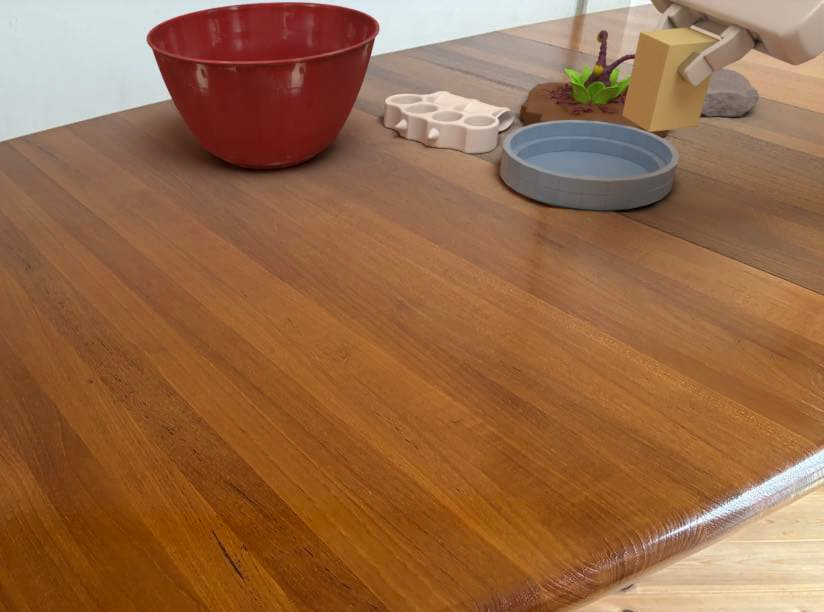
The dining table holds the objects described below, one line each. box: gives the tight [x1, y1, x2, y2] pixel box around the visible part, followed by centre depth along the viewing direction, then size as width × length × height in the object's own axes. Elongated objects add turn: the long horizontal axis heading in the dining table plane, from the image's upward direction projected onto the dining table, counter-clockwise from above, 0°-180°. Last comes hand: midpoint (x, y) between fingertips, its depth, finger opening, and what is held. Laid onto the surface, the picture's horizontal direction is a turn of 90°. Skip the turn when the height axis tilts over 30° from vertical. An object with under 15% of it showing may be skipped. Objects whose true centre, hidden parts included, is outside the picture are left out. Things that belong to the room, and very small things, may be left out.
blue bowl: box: [499, 120, 681, 212], centre depth 97 cm, size 20×20×4 cm
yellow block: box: [622, 27, 721, 132], centre depth 69 cm, size 4×4×7 cm
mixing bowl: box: [146, 1, 381, 170], centre depth 105 cm, size 28×28×16 cm
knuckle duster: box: [383, 90, 515, 155], centre depth 112 cm, size 3×18×15 cm
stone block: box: [700, 67, 760, 118], centre depth 118 cm, size 12×5×10 cm
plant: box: [519, 29, 669, 138], centre depth 112 cm, size 20×20×11 cm
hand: (664, 69), depth 69 cm, fingers closed on yellow block, 4 cm apart
